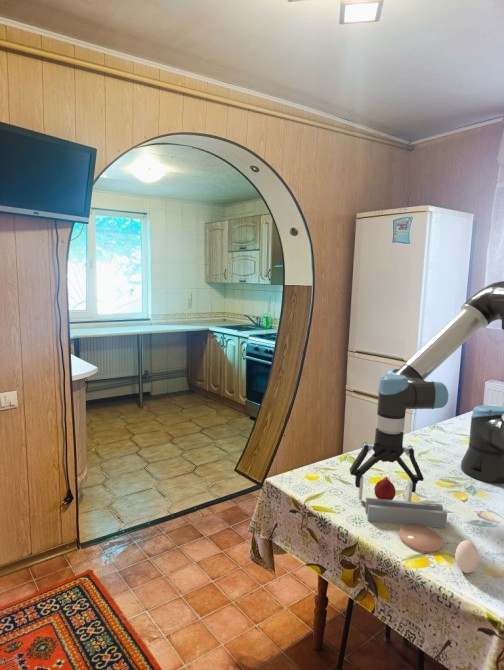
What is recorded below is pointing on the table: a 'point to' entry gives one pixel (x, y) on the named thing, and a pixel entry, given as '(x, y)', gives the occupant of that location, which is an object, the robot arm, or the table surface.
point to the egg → (467, 556)
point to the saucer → (421, 538)
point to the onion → (385, 489)
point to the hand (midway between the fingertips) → (383, 499)
